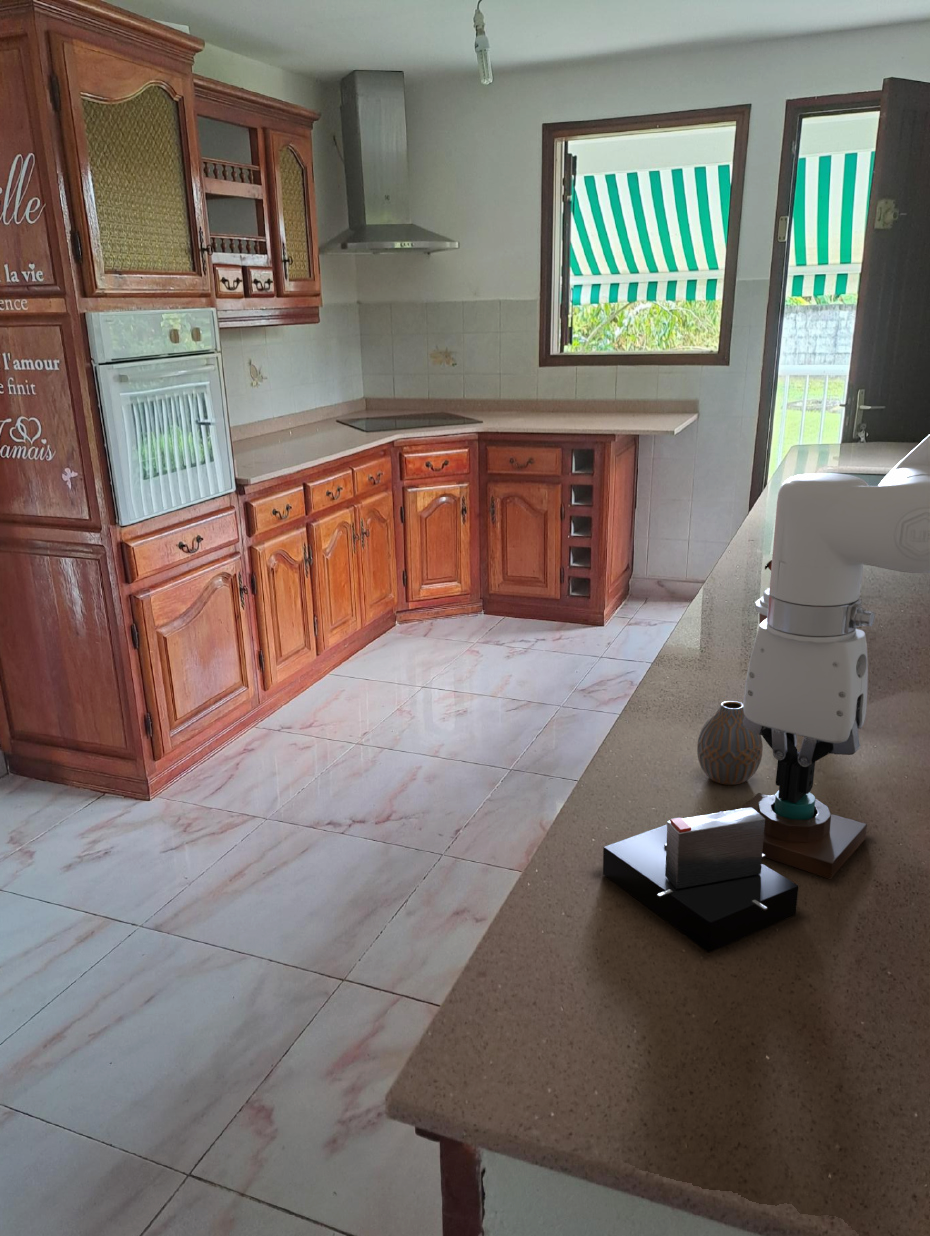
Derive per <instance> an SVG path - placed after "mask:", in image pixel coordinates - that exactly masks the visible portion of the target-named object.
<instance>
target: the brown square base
mask: <svg viewBox="0 0 930 1236" xmlns="http://www.w3.org/2000/svg"><path fill="white" fill-rule="evenodd" d="M775 796H776V793H775V794H772V795H771V794H770V795H767V794H765V793H761V792H757V794H755V795H754V796H753V797H752V798H751V799H750V800H749V801H747V802H746V803H745V804H744V805H743V806H741V807H740V809H744V808H749V807H752V808H753V809H754V810H756V811H757V812H758V813H759V814H760V815H761V816H763V817H764V818H765V828H764V840H763V854H765V857H764V858H766V859H768V860H772V861H775V862H777V863H781V864H784V865H786V866H790V867H792V868H796V869H798V870H801V871H804V872H808V873H811V874H814V875H817V876H820V877H823V878H825V879H828V880H832V878H833V877H834V875H835V874H836V873H837V872H838V871H839V870H840V869H841V868H842V866H843V865H844V864H845V863H846V862H847V861H848V860H849V858H850V857H851V856H852V855H853V854H854V853H855V852H856V850H858V848H859V847H860V846H861V844H862V843H863V842H864V841H865V840H866V837H867V828H868V823H864V822H862V821H857V820H855V819H851V818H848V817H845V816H840V815H837V814H834V813H831V811H830V808H829V806H828V805H826V804H825V803H823V802H821V801H820V800H819V799H816V798H815V809H814V816H813V818H811V819H807V820H793V819H788V818H785V817H781V816H779V815H778V814H776V813H775V811H774V808H775Z"/></svg>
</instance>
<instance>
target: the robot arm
mask: <svg viewBox="0 0 930 1236" xmlns="http://www.w3.org/2000/svg"><path fill="white" fill-rule="evenodd" d="M775 509H776V511H775V520H774V521H775V522H774V532H773V544H772V554H771V555H772V557H771V560H772V567H771V570H770V577H769V578H770V581H769V588H770V592H769V601H768V613H767V619H765V620H764V621H763V622H762V623H761V624H760V626H758V628H757V629H758V630H757V632H756V636H755V639H754V642H753V646H752V649H751V653H750V658H749V662H748V668H747V673H746V678H745V685H744V692H743V703H742V704H743V709H744V714H745V717H744V720H743V723H742V724H743V726H744V727H745V728H746V729H748V730H750V731H752V732H754V733H756V734H758V735H761V737H762V738H763V740H765V742H766V743H767V744H768V746H769V747H770V748H771V750H772V756H773V757H774V759H776V760H777V762H776V763H777V765H776V775H775V785H776V786H778V791H779V795H778V798H779V799H782V800H785V799H788V800H789V801H790V802H792V803H796V802H797V801H798V800H800V799H801V798H802V797H803V796H804V795H805V794H808V793H809V792H810V793H811V791H812V789H813V787H814V786H813V785H814V777H815V769H816V762H817V761H819V760H821V759H822V758H824V757H826V756H828V755H840V756H841V755H843V756H844V755H845V756H852V755H855V753H856V752H858V750H860V747H861V743H860V736H859V729H862V727H863V726H864V724H865V721H866V717H867V708H868V707H867V705H868V691H869V690H868V687H869V685H868V684H869V662H868V661H869V660H868V659H869V658H868V645H867V637H866V632H865V631H864V630H863V629H858V628H859V627H860V628H861V627H863V626H864V627H872V626H873V624H874V622H875V617H876V614H875V611H873V610H867V609H866V608H864V607H863V605H862V602H863V601H862V600H863V599H862V598H860V596H861V589H862V582H863V581H862V580H863V572H864V565H865V566H870V567H876V568H880V569H885V570H890V571H896V572H900V573H908V574H930V434H928V435H927V436H926V437H925V438H924V439H922V440H921V442H920V443H919V444H918V445H916V446H915V447H914V448H913V449H912V450H911V451H910V452H909V453H907V455H906V456H905V457H903V458H902V459H901V460H900V461H899V462H898V463H897V464H896V465H895V466H894V467H893V468H891V470H890V471H889V472H888V473H887V474H886V475H885V476H884V477H883V479H882V480H881V481H880V482H879V483H878V485H869V484H868V482H867V481H865V480H864V478H861V477H859V476H855V475H852V474H845V473H836V472H835V473H833V472H832V473H831V472H813V473H803V474H796V475H794V476H790V477H789V478H787V479H786V480H784V482H782V484H781V486H780V488H779V489H778V493H777V499H776V508H775ZM797 736H800V737H803V738H802V743H801V746H800V750H799V751H798V741H797V740H798V737H797Z"/></svg>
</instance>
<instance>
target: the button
mask: <svg viewBox="0 0 930 1236" xmlns="http://www.w3.org/2000/svg"><path fill="white" fill-rule="evenodd" d="M775 794H776V796H775V808H774V811H775V813H776V814H778V815H779V816H781V817H785V818H788V819H793V820H807V819H811V818H813V816H814V809H815V799H816V796H815V795H814V794H813V793H811V791H810V792H809V793H808V794H805V795H804V796H803V797H802V798H801V799H800V800H798V801H797V802H796V803H792V802H790V801H789V800H788V799H785V800H782V799H779V798H778V795H779V790H778V791H776V792H775Z"/></svg>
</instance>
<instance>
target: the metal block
mask: <svg viewBox="0 0 930 1236" xmlns="http://www.w3.org/2000/svg"><path fill="white" fill-rule="evenodd" d="M666 825H667V844H666V869H665V876H666V878H667V879H668V880H669V881H670V882H671V883H672V884H673V886H674V887H675V888H676V889H681V888H686V887H692V886H697V885H703V884H708V883H713V882H719V881H724V880H730V879H735V878H741V877H746V876H752V875H757V874H761V865H762V864H763V858H762V853H763V840H764V828H765V818H764V817H763V816H761V815H760V814H759V813H758V812H757V811H756V810H754V809H753V808H752V807H749V808H744V809H741V808H738V809H732V810H726V811H719V812H714V813H709V814H702V815H696V816H690V817H684V818H683V817H673V818H670V820H668V821H667V823H666Z"/></svg>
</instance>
